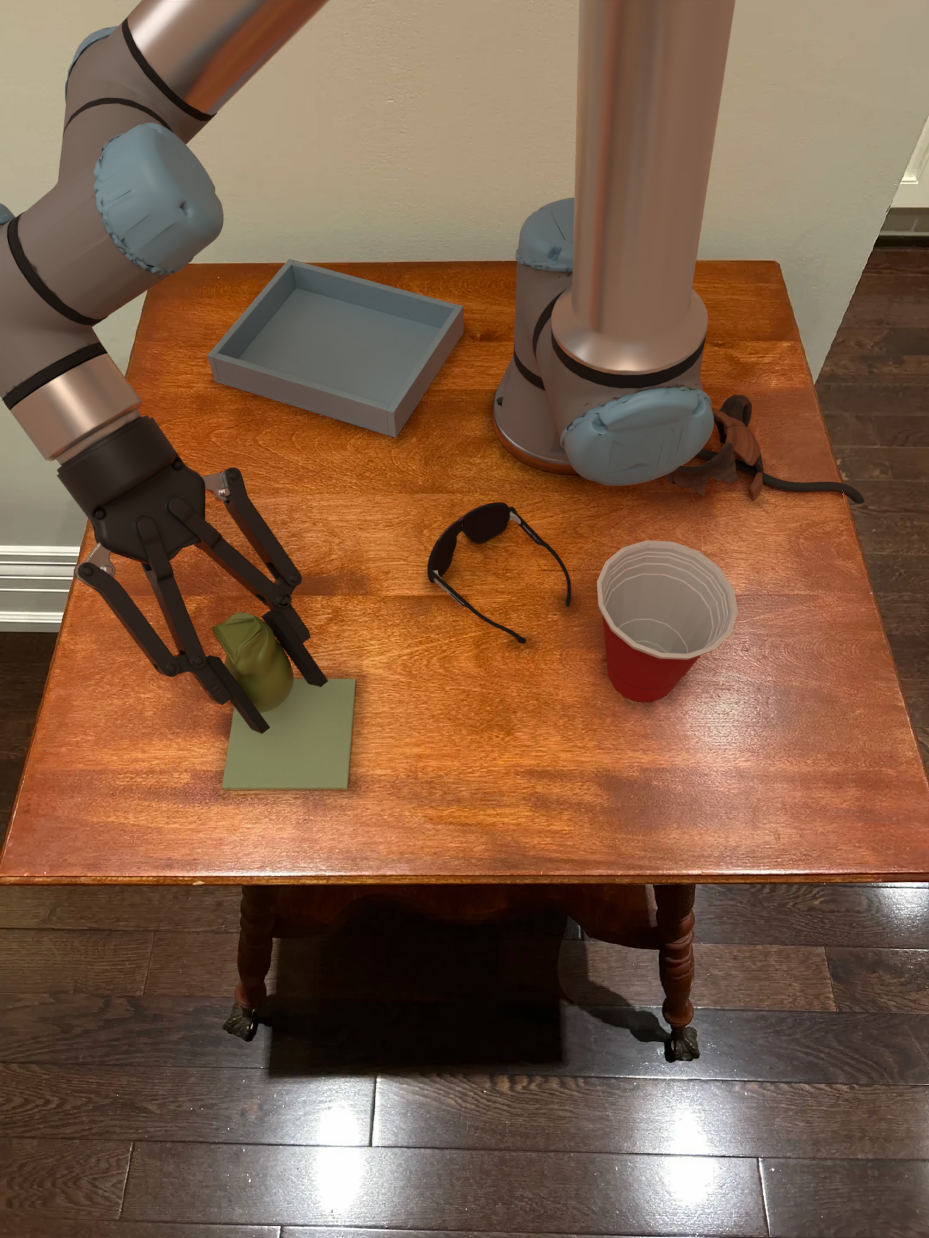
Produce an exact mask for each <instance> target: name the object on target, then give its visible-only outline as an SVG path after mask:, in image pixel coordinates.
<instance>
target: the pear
mask: <svg viewBox="0 0 929 1238" xmlns="http://www.w3.org/2000/svg"><path fill="white" fill-rule="evenodd" d="M211 630H212V633H213V635H214V637H215V639H216V640H217V642H218V643H219V645H220V646H221V648H222V649H223V651H224V652H225V654H226V656H225V658H224V662H223V663H224V665H225V666H226V667H227V669H228V670H229V671H230V673H231V674H232V676H233V677H234V678H235V680H236V681H237V682H238V684H239V685H240V687H241V688H242V689H243V691H244V692H245V693H246V695H247V696H248V698H249V699H250V700H251V702H252V703H253V704H254V706H255V707H256V709H257V710H258V711H259V713H262V712H267V711H270V710H272V709H274V708H276V707H278V706H279V705H280V704H281V703H283V702H284V701H285V699H286V698H287V697H288V695H289V694H290V692H291V690H292V687H293V681H294V679H295V678H294V677H295V676H294V670H293V667H292V663H291V660H290V658H289V656H288V654H287V653H286V651H285V650H284V649H283V647H282V646H281V644H280V643H279V641H278V640H277V639H276V637H275V636H274V633H273V631H272V629H271V628H270V627H269V626H268V625H267V624H266V623H265V621H264V620H263V619H262V618H259V617H258V616H256V615H254V614H252V613H250V612H244V611H237V612H235V613H234V614H232V615H231V616H229V617H228V618H227V619H225V620H224V621H222V622H221V623H217V624H216V625H214V626H212V627H211Z"/></svg>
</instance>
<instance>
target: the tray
mask: <svg viewBox="0 0 929 1238" xmlns="http://www.w3.org/2000/svg"><path fill="white" fill-rule="evenodd" d="M464 308H465V307H464V305H461V304H456V303H453V302H450V301H446V300H442V299H439V298H434V297H431V296H428V295H424V294H420V293H417V292H413V291H409V290H406V289H402V288H398V287H394V286H391V285H387V284H385V283H379V282H376V281H372V280H369V279H365V278H362V277H357V276H355V275H350V274H348V273H347V274H346V273H343V272H339V271H336V270H332V269H329V268H326V267H325V268H324V267H321V266H318V265H314V264H310V263H306V262H303V261H299V260H294V259H291V258H289V259H287V261H286V262H285V263H284V264H283V265H282V266H281V268H279V270H278V271H277V273H275V274H274V275H273V277H272V278H271V279H270V280H269V282H268V283H267V284H266V285H265V286H264V288H263V289H262V290H261V291H260V293H259V294H258V295H257V296H256V297H255V298H254V300H253V301H252V302H251V303H250V304H249V305H248V307H247V308H246V309H245V310H244V312H242V314H241V315H240V316H239V317H238V319H237V320H236V321H235V322H234V323H233V325H231V327H230V328H229V329H228V331H227V332H226V333H225V334H224V335H223V336H222V337H221V339H219V341H218V342H217V343H216V344H215V346H214V347H213V348H212V349H211V350H210V351H209V352H208V354H207V359H208V363H209V366H210V367H209V368H210V369H211V373H212V376H213V381H214V382H215V383H218V384H221V385H225V386H227V387H231V388H234V389H237V390H240V391H244V392H247V393H249V394H250V393H251V394H252V395H256V396H259V397H263V398H266V399H270V400H273V401H276V402H279V403H283V404H285V405H289V406H292V407H294V408H295V407H296V408H299V409H301V410H305V411H308V412H311V413H314V414H318V415H320V416H324V417H327V418H331V419H334V420H336V421H340V422H344V423H347V424H349V425H353V426H356V427H359V428H363V429H366V430H369V431H371V432H372V431H373V432H375V433H379V434H383V435H386V436H389V437H392V438H395V439H397V438H398V436H399V434H400V433H401V431H402V430H403V428H404V427H405V425H406V423H407V422H408V420H409V419H410V417H411V416H412V414H413V413H414V411H415V410H416V408H417V406H418V405H419V404H420V402H421V400H422V398H423V397H424V395H425V394H426V392H427V391H428V389H429V388H430V386H431V384H432V383H433V382H434V380H435V378H436V377H437V375H438V374H439V372H440V370H441V369H442V368H443V366H444V364H445V363H446V361H447V359H448V358H449V357H450V355H451V353H452V352H453V350H454V349H455V347H456V345H457V344H458V342H459V341H460V339H461V338H462V336H463V335H464V333H465V326H464V325H465V321H464V320H465V319H464V316H465V315H464Z"/></svg>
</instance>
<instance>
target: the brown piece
mask: <svg viewBox="0 0 929 1238" xmlns="http://www.w3.org/2000/svg"><path fill="white" fill-rule="evenodd" d="M711 409H712V412H713V416H714V426H715V427H716V429H717V432H718V436H719V443H720V444H721V445H723V446H722V447H721V449H720V450H719V452H717V453H718V454H717V455H716V456H714V457H713V458H712V459H710V460H707V461H706V462H703V463H701V464H697V465H681V466H679V467H678V468H677V469H676V470H675V471H673V472H671V473H669V474H667V475H665V476H664V478H665V479H666V481H667V482H668V483H669V484H670V485H672V486H674V485H675V487H677V488H679V489H686V490H690V491H691V490H692V491H694V492H695V493H697V494H699V495H701V496H703V497H705V496H707V494H706V490H707V486H708V482H709V479H710V477H711V478H712V479H713V480H714V481H717V482H724V483H727V484H734V483H735V482H737V481H739V480H740V476H739V474H738V472H737V469H736V464H735V458H736V457H735V455H737V456H738V457H739V458H741V459H742V461H743V462H745V463H746V464H748V465H750V466H753V467H755V468H756V469H757V474H756V476H755V478H753V481H752V482H751V484H750V486H749V487H748V491H749V493H750V500H752V501H753V502H755V501H756V500H757V499H758V497H759V496H760V494H761V491H762V488H763V485H764V483H763V472H764V471H765V470H764V464H763V458H762V457H763V456H762V451H761V449H760V445H759V442H758V441H757V438H756V436H755V435H754V432H752V430H751V429H750V428H749V425H750V423H751V420H752V414H753V413H752V412H753V403H752V402H751V400H750V398H748V397H747V396H746V395H744V394H733V395H731V396H729V397H727V398H726V399H725V400H724V401H723V403H722V404H721V407H720V408H719V409H713V408H711ZM764 473H765V472H764Z"/></svg>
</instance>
